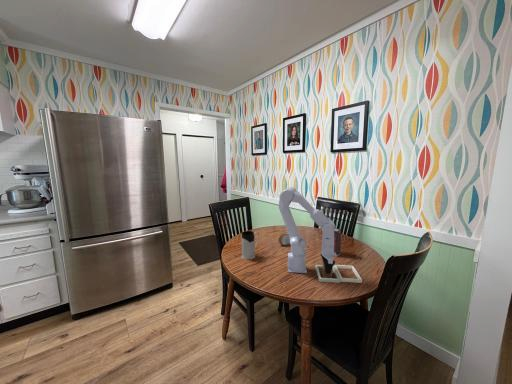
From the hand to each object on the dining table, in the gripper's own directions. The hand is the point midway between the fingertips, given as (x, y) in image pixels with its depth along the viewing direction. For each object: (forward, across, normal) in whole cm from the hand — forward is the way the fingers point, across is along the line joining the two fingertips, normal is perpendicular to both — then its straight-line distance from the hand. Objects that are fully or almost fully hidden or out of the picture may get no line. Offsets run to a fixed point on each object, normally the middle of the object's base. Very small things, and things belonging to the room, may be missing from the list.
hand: (327, 270), depth 105 cm
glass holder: (+2, +19, +42) cm, 46 cm away
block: (+2, 0, 0) cm, 2 cm away
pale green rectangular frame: (+2, 0, 0) cm, 2 cm away
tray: (+2, +1, -10) cm, 10 cm away
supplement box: (+2, +26, -8) cm, 27 cm away
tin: (+2, +39, +19) cm, 43 cm away
